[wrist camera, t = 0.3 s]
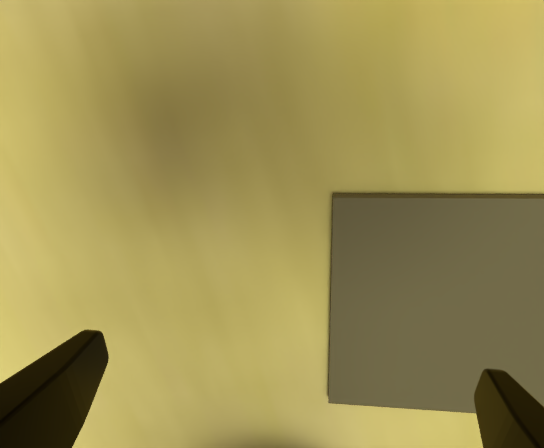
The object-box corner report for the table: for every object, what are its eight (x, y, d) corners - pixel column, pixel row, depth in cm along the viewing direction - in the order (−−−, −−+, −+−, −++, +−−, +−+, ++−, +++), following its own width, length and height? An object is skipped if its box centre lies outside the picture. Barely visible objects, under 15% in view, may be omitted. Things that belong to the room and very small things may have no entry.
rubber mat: (548, 410, 28) (552, 418, 27) (328, 396, 30) (328, 403, 29) (625, 194, 21) (633, 199, 20) (332, 193, 23) (333, 197, 22)
